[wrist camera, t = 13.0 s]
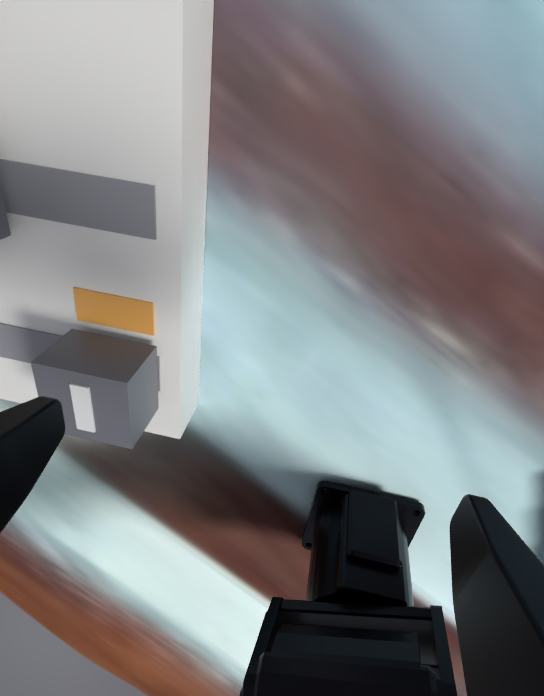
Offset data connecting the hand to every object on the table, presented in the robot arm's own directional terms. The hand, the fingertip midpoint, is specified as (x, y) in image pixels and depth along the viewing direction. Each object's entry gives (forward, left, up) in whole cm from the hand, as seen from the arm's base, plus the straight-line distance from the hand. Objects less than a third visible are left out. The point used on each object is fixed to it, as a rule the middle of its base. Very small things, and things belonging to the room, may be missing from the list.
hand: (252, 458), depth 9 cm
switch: (-5, +8, -8) cm, 13 cm away
